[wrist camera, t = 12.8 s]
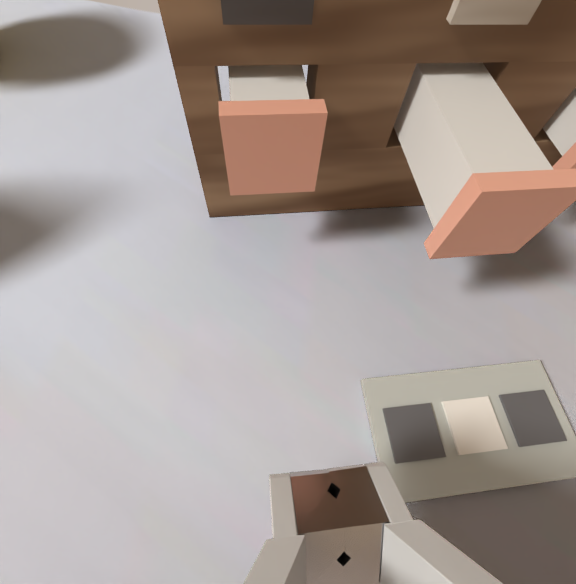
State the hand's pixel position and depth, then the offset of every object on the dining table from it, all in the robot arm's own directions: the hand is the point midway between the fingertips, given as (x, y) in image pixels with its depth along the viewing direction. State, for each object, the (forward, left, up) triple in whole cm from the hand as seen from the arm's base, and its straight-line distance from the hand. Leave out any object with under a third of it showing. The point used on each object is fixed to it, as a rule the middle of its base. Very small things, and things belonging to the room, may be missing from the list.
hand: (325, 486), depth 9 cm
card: (+1, -8, -6) cm, 10 cm away
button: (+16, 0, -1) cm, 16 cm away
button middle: (+12, -8, -1) cm, 14 cm away
